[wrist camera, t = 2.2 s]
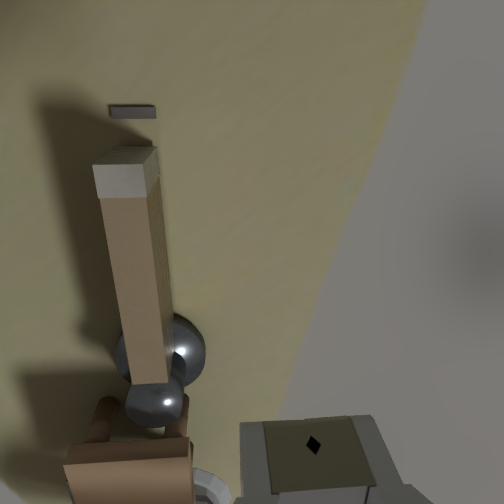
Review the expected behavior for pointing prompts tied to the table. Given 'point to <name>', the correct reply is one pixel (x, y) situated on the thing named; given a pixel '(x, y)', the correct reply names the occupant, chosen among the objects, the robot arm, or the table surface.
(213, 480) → the french press
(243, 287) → the table surface
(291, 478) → the robot arm
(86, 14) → the table surface
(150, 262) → the cam lever
